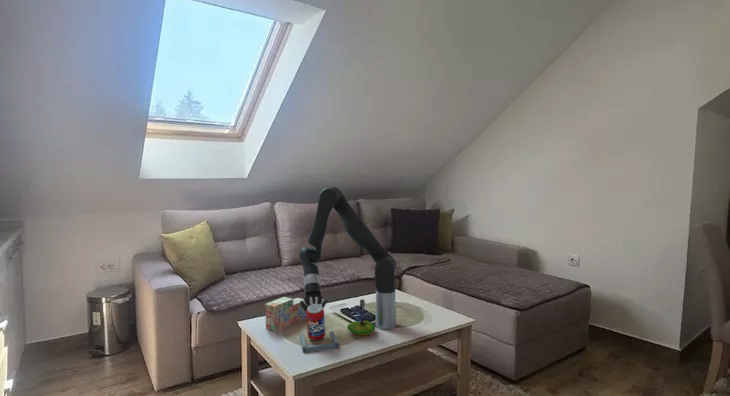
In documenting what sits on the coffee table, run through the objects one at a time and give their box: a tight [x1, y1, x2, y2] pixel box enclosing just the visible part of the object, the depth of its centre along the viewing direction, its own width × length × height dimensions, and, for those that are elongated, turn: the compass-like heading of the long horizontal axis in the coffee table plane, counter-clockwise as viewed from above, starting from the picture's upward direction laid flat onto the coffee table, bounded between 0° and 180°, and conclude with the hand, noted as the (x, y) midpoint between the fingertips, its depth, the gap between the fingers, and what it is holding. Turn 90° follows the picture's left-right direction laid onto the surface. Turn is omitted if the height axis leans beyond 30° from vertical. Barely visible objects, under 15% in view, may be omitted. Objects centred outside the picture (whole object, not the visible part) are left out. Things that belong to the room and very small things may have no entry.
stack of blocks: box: [264, 296, 307, 332], centre depth 212 cm, size 21×6×12 cm, turn 144°
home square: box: [299, 330, 340, 353], centre depth 189 cm, size 15×14×2 cm
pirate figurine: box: [346, 299, 376, 336], centre depth 199 cm, size 14×13×15 cm
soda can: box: [305, 303, 326, 341], centre depth 192 cm, size 8×8×15 cm
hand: (314, 320), depth 195 cm, fingers closed
